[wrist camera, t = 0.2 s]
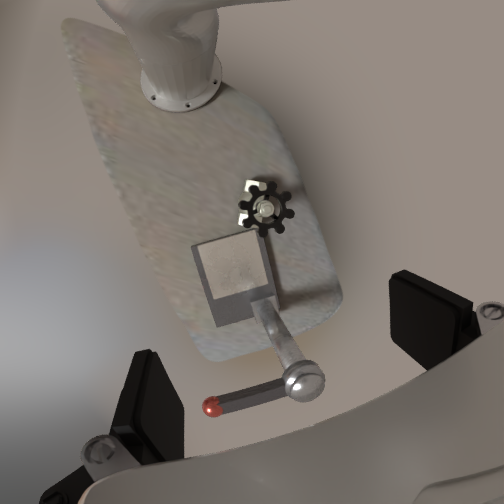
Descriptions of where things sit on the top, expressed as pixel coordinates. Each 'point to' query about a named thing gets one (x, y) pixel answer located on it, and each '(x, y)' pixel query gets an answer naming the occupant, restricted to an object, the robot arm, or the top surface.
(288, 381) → the lever
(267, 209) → the valve
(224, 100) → the top surface
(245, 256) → the press
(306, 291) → the top surface
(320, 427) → the robot arm
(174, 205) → the top surface
